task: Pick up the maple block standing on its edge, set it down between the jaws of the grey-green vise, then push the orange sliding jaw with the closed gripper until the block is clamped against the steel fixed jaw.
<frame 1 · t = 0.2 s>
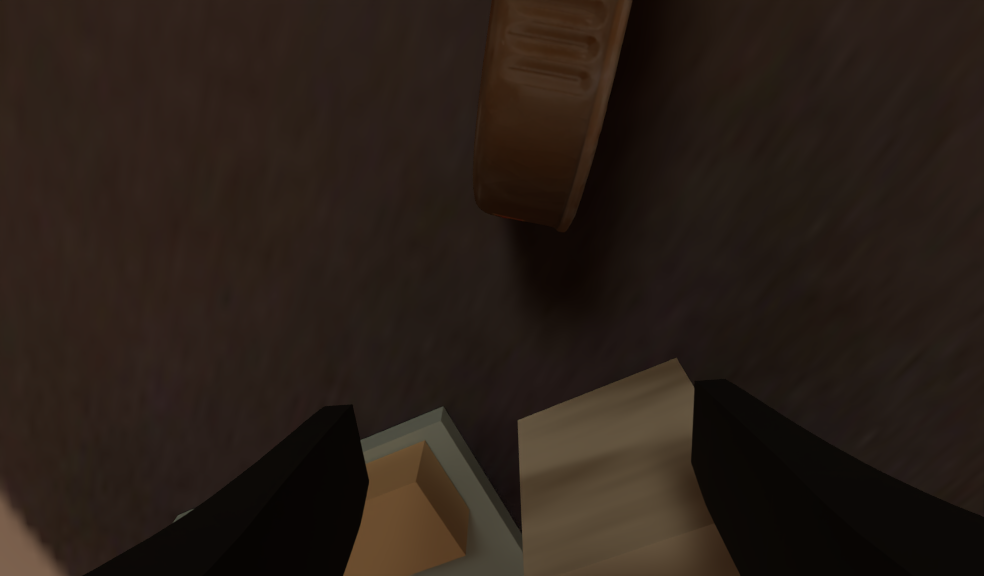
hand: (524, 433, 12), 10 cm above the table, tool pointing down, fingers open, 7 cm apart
sliding jaw: (318, 544, 23), point 2 cm above the table, slide at 0.0 cm
maple block: (612, 426, 23), on the table
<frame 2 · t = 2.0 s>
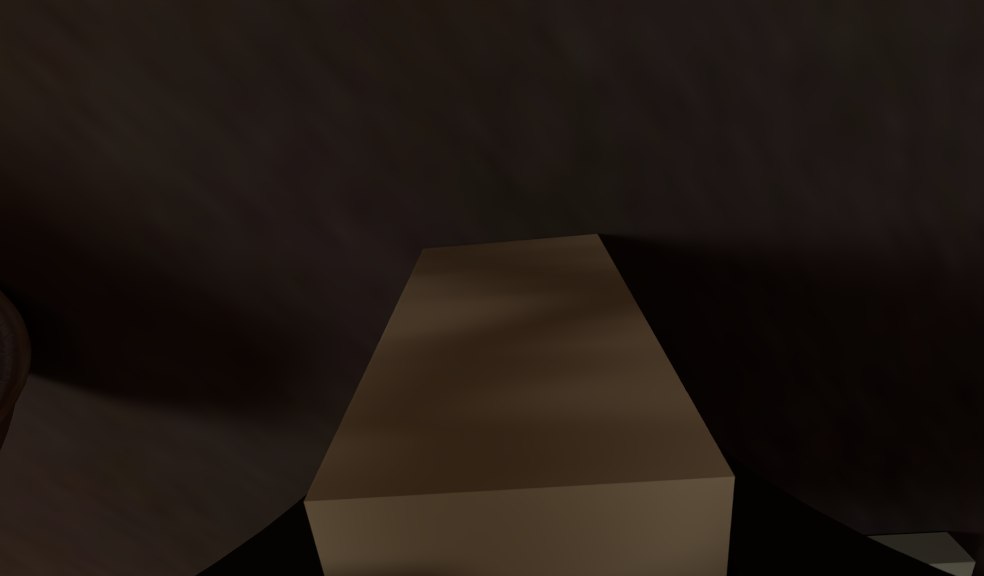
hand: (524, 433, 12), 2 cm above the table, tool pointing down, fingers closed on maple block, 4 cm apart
maple block: (521, 374, 14), on the table, touching gripper
when the fingers open (4 cm above the table, at t = 5.4 s): maple block stays where it is, resting on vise.
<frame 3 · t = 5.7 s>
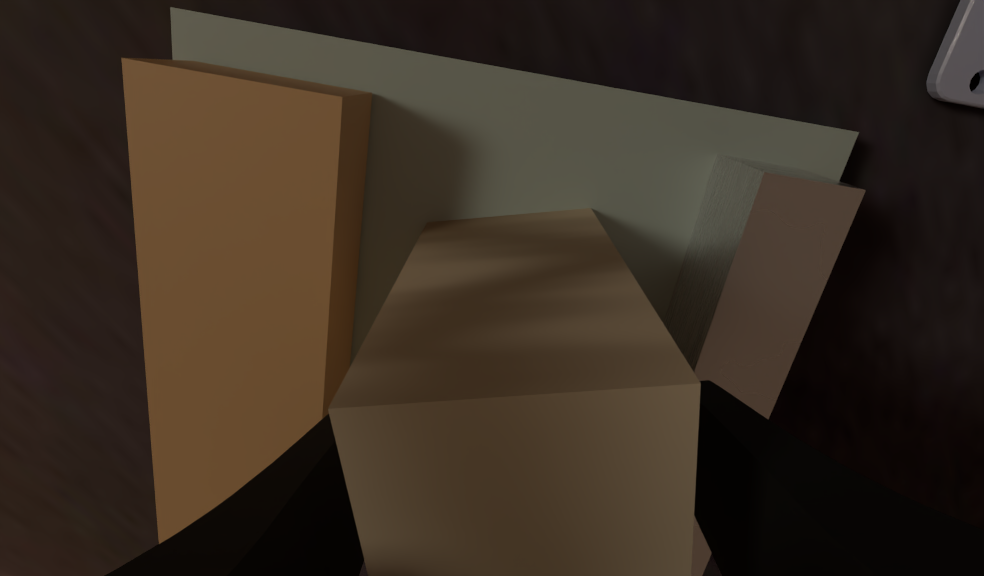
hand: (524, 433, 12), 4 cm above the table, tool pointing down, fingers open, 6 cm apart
sliding jaw: (257, 338, 13), point 2 cm above the table, slide at 0.0 cm
maple block: (519, 343, 15), point 1 cm above the table, touching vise
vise: (484, 332, 16), on the table
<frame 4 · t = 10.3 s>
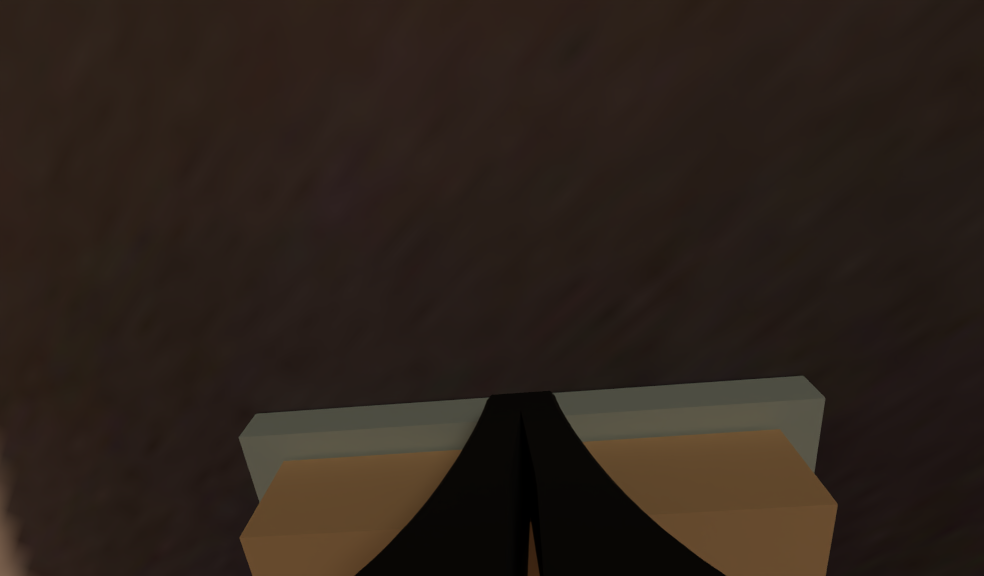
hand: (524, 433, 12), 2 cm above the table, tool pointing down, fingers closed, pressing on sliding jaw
sliding jaw: (533, 548, 13), point 2 cm above the table, slide at 0.2 cm, touching gripper
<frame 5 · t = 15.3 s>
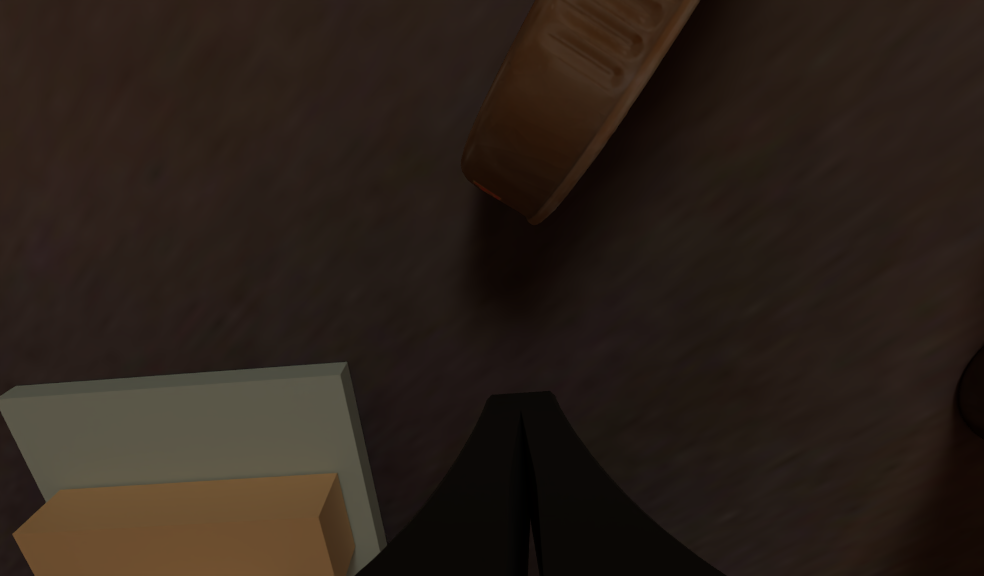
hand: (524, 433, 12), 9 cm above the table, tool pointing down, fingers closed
sliding jaw: (195, 540, 22), point 2 cm above the table, slide at 4.0 cm, touching maple block
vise: (231, 525, 25), on the table
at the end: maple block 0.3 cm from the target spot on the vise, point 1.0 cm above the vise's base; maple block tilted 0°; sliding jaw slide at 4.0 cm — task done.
